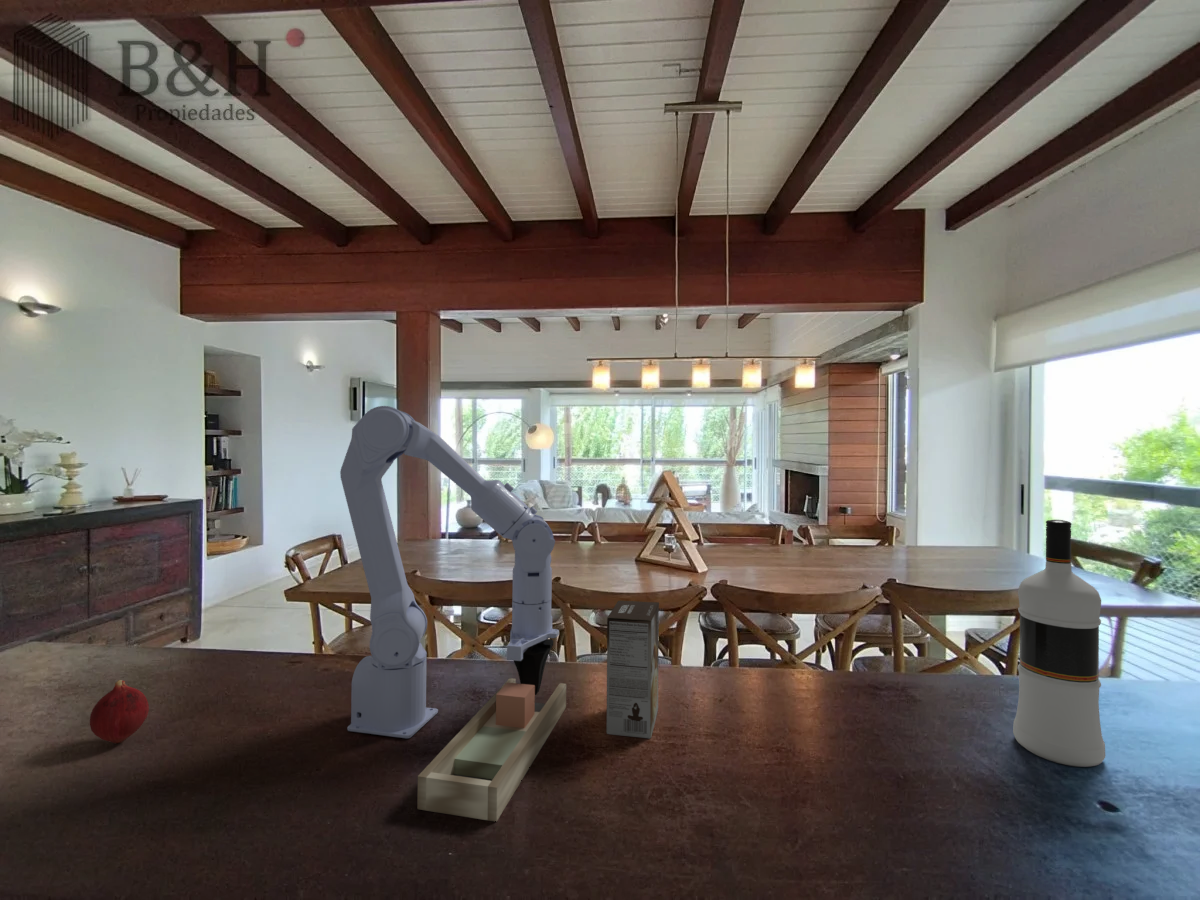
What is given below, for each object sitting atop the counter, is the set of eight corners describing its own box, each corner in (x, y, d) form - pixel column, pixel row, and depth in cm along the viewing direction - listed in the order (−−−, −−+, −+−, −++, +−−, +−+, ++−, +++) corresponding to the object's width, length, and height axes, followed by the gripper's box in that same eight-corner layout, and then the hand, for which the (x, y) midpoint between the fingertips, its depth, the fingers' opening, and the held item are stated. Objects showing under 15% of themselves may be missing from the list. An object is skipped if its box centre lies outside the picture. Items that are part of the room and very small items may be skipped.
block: (495, 724, 74) (496, 694, 74) (507, 711, 78) (507, 682, 78) (524, 728, 73) (524, 697, 73) (534, 714, 77) (534, 685, 77)
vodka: (996, 737, 75) (997, 516, 76) (1045, 728, 78) (1046, 515, 78) (1071, 776, 67) (1072, 525, 67) (1124, 764, 69) (1125, 523, 69)
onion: (157, 737, 73) (158, 676, 73) (104, 759, 68) (105, 693, 68) (133, 727, 76) (134, 669, 76) (79, 748, 71) (80, 685, 71)
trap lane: (417, 809, 59) (417, 776, 59) (509, 701, 85) (509, 678, 85) (496, 821, 57) (496, 787, 57) (566, 707, 83) (566, 683, 83)
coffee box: (616, 705, 84) (617, 598, 84) (659, 709, 83) (659, 601, 83) (605, 735, 75) (606, 616, 75) (652, 740, 74) (653, 619, 74)
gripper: (542, 615, 73) (541, 718, 73) (571, 589, 88) (570, 675, 88) (492, 611, 75) (491, 712, 75) (528, 586, 89) (527, 671, 89)
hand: (530, 692), depth 81 cm, fingers closed
